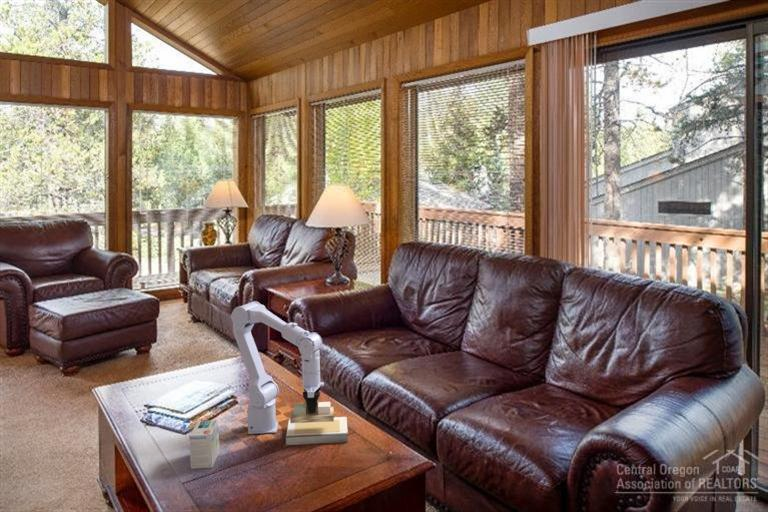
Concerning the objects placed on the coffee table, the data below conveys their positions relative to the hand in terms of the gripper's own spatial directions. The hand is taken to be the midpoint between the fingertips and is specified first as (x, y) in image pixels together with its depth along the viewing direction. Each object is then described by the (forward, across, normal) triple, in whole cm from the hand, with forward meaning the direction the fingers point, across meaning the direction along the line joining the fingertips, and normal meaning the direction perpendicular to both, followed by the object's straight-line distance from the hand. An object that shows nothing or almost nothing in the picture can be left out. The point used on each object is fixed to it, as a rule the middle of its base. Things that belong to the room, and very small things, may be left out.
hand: (312, 410), depth 191 cm
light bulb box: (+10, -12, +32) cm, 36 cm away
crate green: (+1, 0, +4) cm, 4 cm away
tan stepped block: (+3, 0, 0) cm, 3 cm away
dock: (+10, +2, -1) cm, 10 cm away
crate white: (+1, 0, -4) cm, 4 cm away
